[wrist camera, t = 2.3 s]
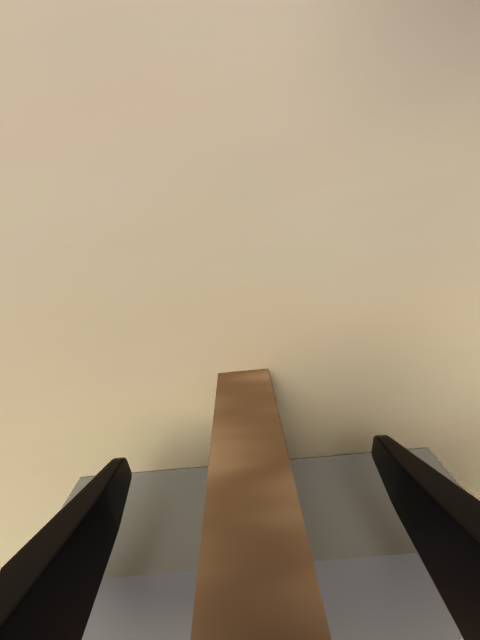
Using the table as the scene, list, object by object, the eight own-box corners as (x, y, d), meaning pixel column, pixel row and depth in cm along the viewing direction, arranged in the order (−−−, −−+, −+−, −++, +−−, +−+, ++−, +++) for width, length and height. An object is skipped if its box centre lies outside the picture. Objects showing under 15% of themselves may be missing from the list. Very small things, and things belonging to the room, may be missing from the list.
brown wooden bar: (267, 368, 12) (404, 948, 2) (270, 408, 12) (375, 943, 3) (218, 373, 12) (156, 963, 2) (223, 412, 13) (195, 954, 3)
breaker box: (427, 447, 14) (511, 545, 10) (388, 591, 20) (430, 691, 15) (80, 477, 14) (14, 585, 10) (145, 610, 20) (121, 713, 16)
